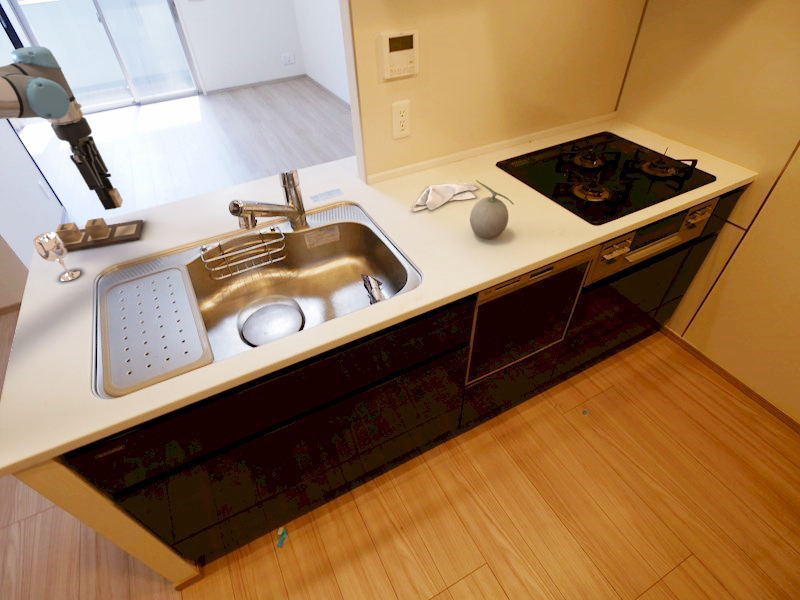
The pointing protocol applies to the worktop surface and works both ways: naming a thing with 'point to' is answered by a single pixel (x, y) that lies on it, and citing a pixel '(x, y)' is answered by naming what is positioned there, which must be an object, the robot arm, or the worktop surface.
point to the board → (109, 236)
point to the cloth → (443, 195)
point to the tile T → (115, 197)
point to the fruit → (489, 216)
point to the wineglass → (54, 252)
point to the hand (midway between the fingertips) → (112, 204)
